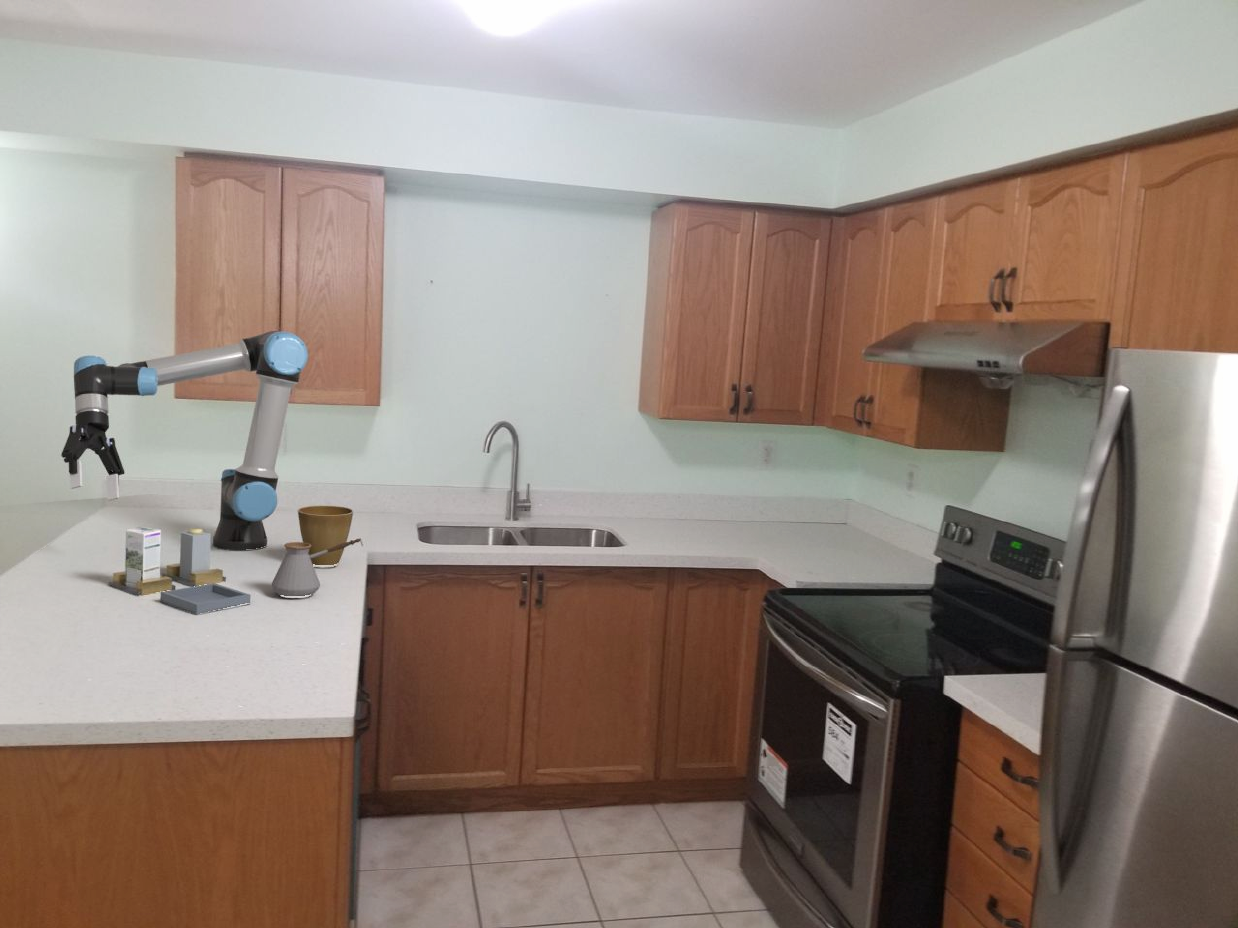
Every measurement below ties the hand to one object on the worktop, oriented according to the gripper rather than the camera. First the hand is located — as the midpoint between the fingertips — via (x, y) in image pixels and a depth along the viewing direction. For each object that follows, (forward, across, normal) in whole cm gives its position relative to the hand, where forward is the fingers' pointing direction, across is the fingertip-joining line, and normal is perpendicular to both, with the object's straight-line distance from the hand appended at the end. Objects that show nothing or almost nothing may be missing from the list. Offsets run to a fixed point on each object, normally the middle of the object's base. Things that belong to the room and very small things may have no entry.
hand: (95, 493), depth 248 cm
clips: (+24, -14, +16) cm, 32 cm away
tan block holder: (+26, -2, +10) cm, 28 cm away
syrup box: (+26, -2, +10) cm, 28 cm away
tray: (+35, +2, +29) cm, 45 cm away
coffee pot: (+35, -15, +48) cm, 61 cm away
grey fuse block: (+24, -14, +16) cm, 32 cm away
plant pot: (+21, -43, +38) cm, 61 cm away
